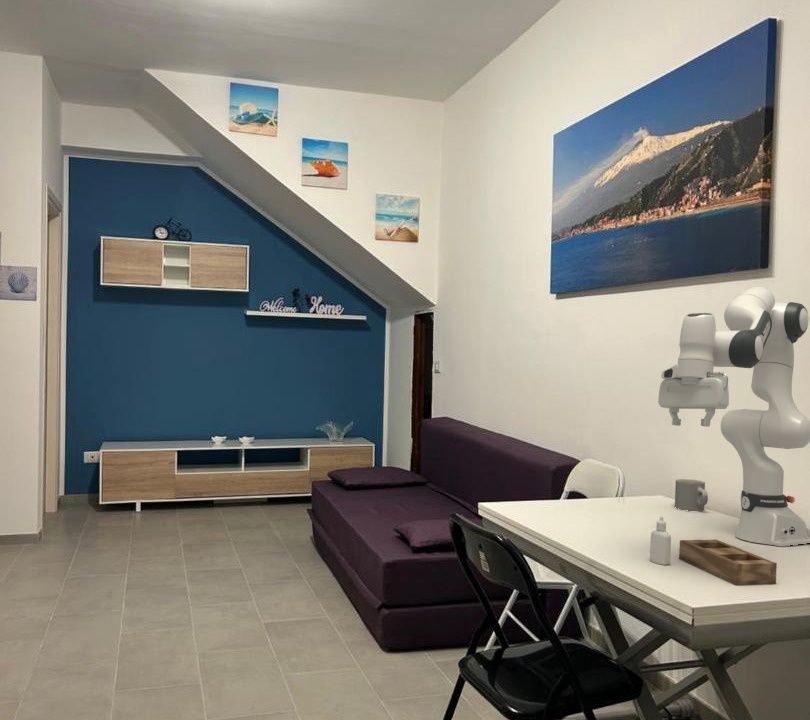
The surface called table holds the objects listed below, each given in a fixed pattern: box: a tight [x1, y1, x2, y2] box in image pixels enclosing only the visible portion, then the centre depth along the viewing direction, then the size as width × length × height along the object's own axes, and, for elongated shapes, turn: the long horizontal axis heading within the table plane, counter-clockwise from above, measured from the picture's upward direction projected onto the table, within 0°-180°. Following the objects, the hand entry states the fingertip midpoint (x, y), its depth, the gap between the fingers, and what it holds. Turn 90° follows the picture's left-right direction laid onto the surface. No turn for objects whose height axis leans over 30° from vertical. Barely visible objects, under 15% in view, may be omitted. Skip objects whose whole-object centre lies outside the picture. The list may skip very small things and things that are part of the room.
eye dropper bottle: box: [649, 516, 672, 566], centre depth 206 cm, size 4×6×12 cm
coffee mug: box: [674, 478, 709, 512], centre depth 282 cm, size 13×10×10 cm
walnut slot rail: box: [678, 539, 778, 586], centre depth 200 cm, size 11×24×5 cm, turn 13°
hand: (690, 425), depth 204 cm, fingers open, 8 cm apart
